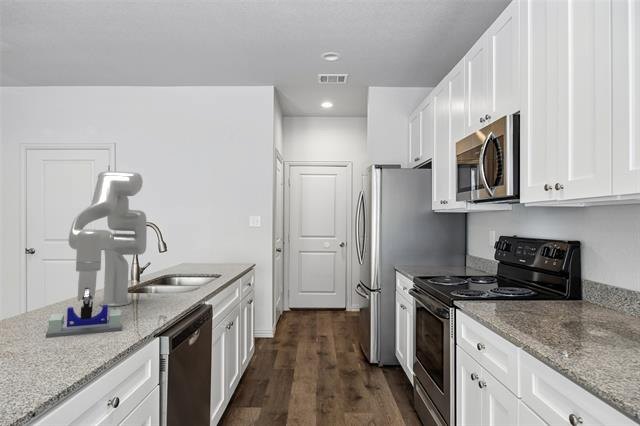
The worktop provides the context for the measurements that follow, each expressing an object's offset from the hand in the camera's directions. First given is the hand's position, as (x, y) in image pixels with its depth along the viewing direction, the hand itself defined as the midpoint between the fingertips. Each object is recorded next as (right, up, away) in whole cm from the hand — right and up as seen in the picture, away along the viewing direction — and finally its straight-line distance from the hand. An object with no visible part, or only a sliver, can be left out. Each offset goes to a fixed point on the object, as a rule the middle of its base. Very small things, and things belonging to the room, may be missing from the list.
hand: (86, 315), depth 139 cm
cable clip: (0, -3, 0) cm, 3 cm away
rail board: (0, -5, 0) cm, 5 cm away
